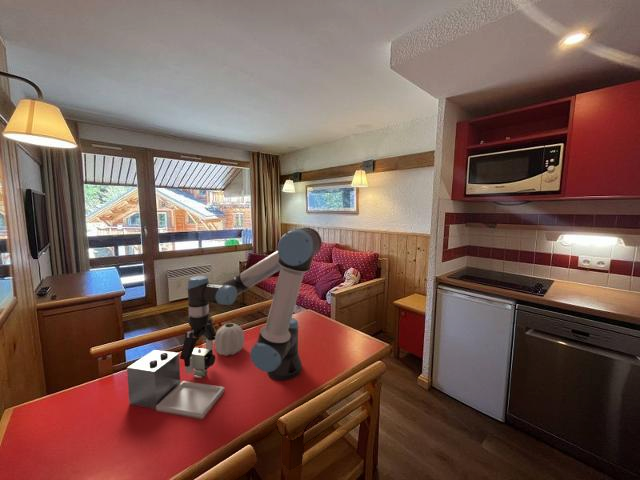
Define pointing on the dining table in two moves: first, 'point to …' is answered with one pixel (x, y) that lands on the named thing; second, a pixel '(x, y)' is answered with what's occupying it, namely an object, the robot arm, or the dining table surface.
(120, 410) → the dining table surface
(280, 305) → the robot arm
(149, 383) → the control box
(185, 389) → the parts tray
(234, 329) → the vase
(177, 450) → the dining table surface
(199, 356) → the pneumatic valve
